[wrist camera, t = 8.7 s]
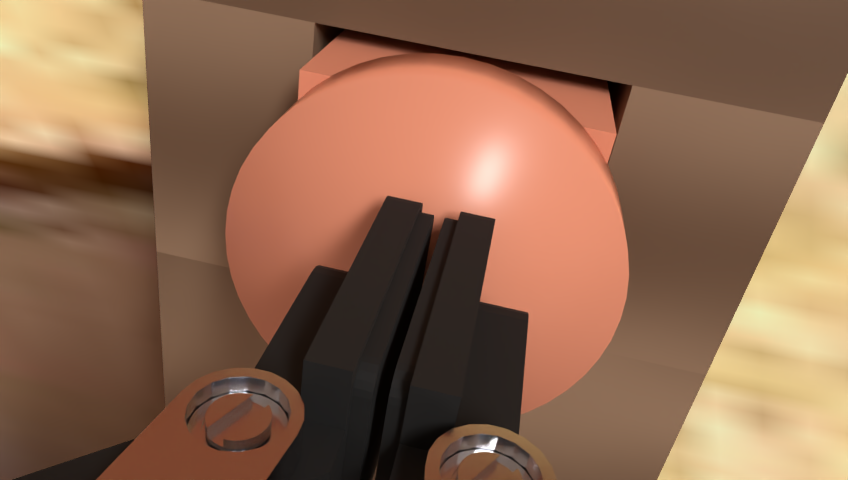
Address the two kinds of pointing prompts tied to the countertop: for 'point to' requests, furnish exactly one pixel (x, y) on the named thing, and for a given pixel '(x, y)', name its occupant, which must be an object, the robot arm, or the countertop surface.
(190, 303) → the block
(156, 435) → the robot arm
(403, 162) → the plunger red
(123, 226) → the countertop surface
